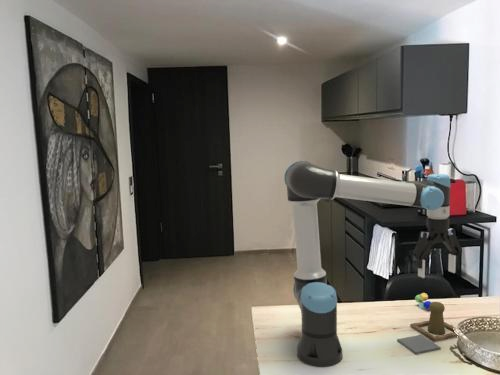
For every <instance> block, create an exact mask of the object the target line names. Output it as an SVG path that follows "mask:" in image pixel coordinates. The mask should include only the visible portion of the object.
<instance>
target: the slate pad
mask: <svg viewBox="0 0 500 375" xmlns="http://www.w3.org/2000/svg"><path fill="white" fill-rule="evenodd" d="M396 339H397V342H398V343H399V344H400V345H401V346H403V347H404V348H406V349H407V350H409V351H410V352H411V353H413V354H414V355H420V354H425V353H430V352H434V351H440V350H442V349H441V346H439V345H438V344H437V343H435V342H433V341H431V340H430V339H428V338H427V337H425V336H424V335H422V334H417V335H412V336H407V337H403V338H402V337H401V338H396Z"/></svg>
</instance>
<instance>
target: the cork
mask: <svg viewBox="0 0 500 375" xmlns="http://www.w3.org/2000/svg"><path fill="white" fill-rule="evenodd" d="M430 302H431V301H430ZM445 308H446V307H445V305H444V304H443V303H442V302H440V301H432V302H431V303H430V305H429V309H428V310H430V312H429V319H428V321H429V324H428V326H427V332H428V333H430V334H432V335H433V336H439V335H444V334H446V328H445V327H444V322H445V320H444V318H445V317H444V312H445V310H446V309H445Z"/></svg>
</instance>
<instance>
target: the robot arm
mask: <svg viewBox="0 0 500 375" xmlns="http://www.w3.org/2000/svg"><path fill="white" fill-rule="evenodd" d="M283 180H284V184H285V186H286V194H287V201H288V203H290V205H292V215H293V217H292V218H293V226H294V227H293V229H294V240H295V242H294V243H295V253H296V254H295V255H296V264H297V266H296V267H297V269H296V271H295V272H294V273H293V279H294V280H293V281H294V283H293V289H292V290H293V296H294V298H295V300H296V301H297V304H298V307H299V309H300V311H301V312H300V313H301V334H300V337H299V339H298V342H297V343H298V344H297V347H296V356H297V359H299V360H300V361H301V362H303V363H304V364H306V365H309V366H313V367H329V366H334V365H336V364H338V363H340V361H342V359H343V348H342V345H341V341H340V339H339V336H338V331H337V330H338V328H337V327H338V323H337V322H338V318H337V317H338V316H337V315H338V314H337V313H338V310H337V308H338V307H337V306H338V305H337V304H338V296H337V292H336V289H335V288H334V286H332V285H330V284H327V283H328V280H327V271H326V270H325V269H323V267H322V258H321V257H322V256H321V244H320V242H321V241H320V230H319V217H318V202H319V201H320V200H331V201H332V200H334V199H335V198H342V199H350V200H358V201H366V202H367V201H368V202H374V203H382V204H392V205H400V206H408V207H414V208H415V207H416V208H421V209H425V210H426V216H427V217H426V228H427V231H420V232H419V237H418V240H417V242H416V245H415V247H414V249H413V251H412V254H411V258H413V259H416V268H417V276H418V277H419V278H422V279H425V278H426V276H425V275H426V274H425V273H426V260H425V259H424V258H425V257H426V256H427V254H428V252H429V251H430V249H431V248H432V247H433V246H434V245H435V244H439V243H443V245H444V246H445V248H446V249H447V251H449V253H448V263H447V265H448V267H447V270H448V272H450V273H453V274H455V273H456V264H457V261H458V256H460V254H461V253H462V252H463V250H462V248H461V244H460V241H459V240H458V237H457V235H456V234H457V233H456V229H454V228H451V227H450V218H449V217H450V207H451V206H450V205H451V178H450V176H449V175H448V174H444V173H443V174H442V173H432V174H428V175H427V178H426V179H425V180H406V181H405V180H402V181H396V180H390V179H382V178H375V177H373V178H372V177H365V176H360V175H359V176H358V175H349V174H344V173H343V174H340V173H338V171H337V170H335V169H328V168H325V167H321V166H318V165H316V164H315V163H311V162H309V161H308V160H307V161H306V160H299V161H295V162H293V163H291V164H290V165H289V166H288V167H287V169H286V170H285V173H284V179H283ZM448 237H449V238H448Z"/></svg>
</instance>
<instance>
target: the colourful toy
mask: <svg viewBox="0 0 500 375" xmlns="http://www.w3.org/2000/svg"><path fill="white" fill-rule="evenodd" d="M428 299H429V295H428V294H427V293H425V292H422V293H420V294H417V295H416V296H415V297H414V300H415V302H416V303H418V307H419V308H420V309H422V310H426V309H427V310H430V309H429V305H430V303H431V301H429V300H428Z"/></svg>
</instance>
